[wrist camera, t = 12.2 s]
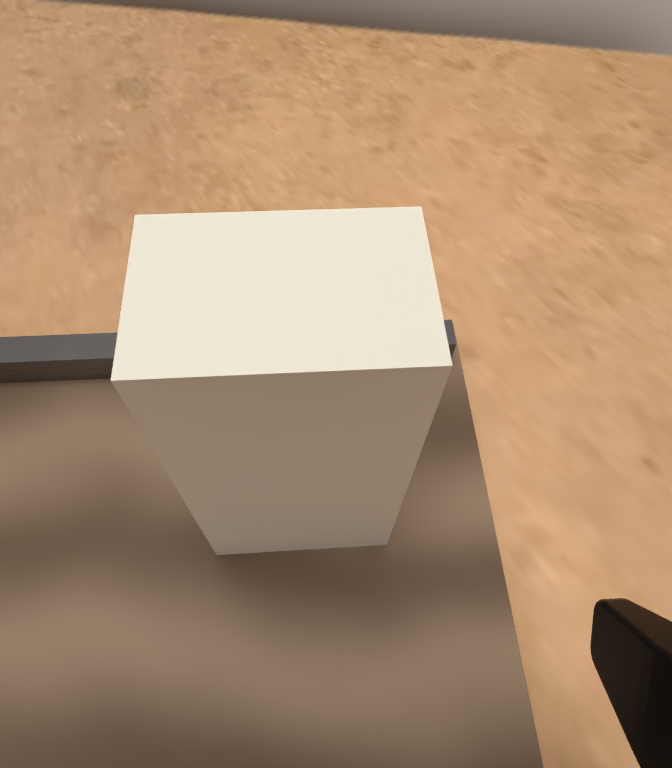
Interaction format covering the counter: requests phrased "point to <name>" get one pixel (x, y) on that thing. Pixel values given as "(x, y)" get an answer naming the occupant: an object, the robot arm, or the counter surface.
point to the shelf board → (243, 613)
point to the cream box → (284, 368)
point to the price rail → (75, 356)
